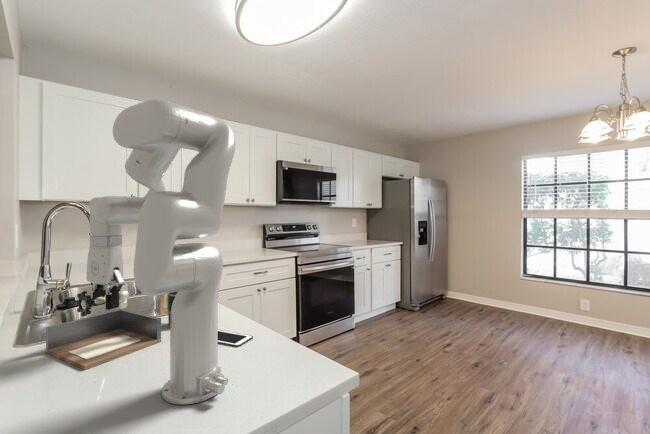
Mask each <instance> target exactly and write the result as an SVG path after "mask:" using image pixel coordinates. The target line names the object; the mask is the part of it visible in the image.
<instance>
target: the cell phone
mask: <svg viewBox="0 0 650 434" xmlns="http://www.w3.org/2000/svg"><path fill="white" fill-rule="evenodd" d="M251 339H252V340H253V339H254V336H253V335H250V334H245V333H244V334H243V333H239V332H234V331H227V330H222V329H218V345H219V344H220V345H224V346H229V347H232V348H240V347H243V344H244V345H245V344H246V343H248V341H249V342H250V341H251Z"/></svg>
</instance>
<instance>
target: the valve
mask: <svg viewBox="0 0 650 434" xmlns="http://www.w3.org/2000/svg"><path fill="white" fill-rule="evenodd" d="M128 285H129V284H128V283H126V282H124V284H123V286H122V287H121V289H120V293H119V307H118V308H114V310H118V309H127V307H128V300H129V298H130V292H129V291H128V287H129V286H128ZM113 286H115V285H113ZM86 294H88V290H87V291H86V290H84V291H81V292H80V293H77V295H76V298H77V299H76V300H75V305H77V306H78V308H76V311H77V313H80V317H83V318H84V317H88V315H91V313H92V310H91V309H92V308H93V307H94V306H93V305H94V304H95V303H96V304H102V303H103V302H105V304H106V295H108V294H107V293H106V295H105V296H104V297H97V298H96V299H95V300H94V299H93V297H92V294H88V295H86ZM102 305H103V304H102Z"/></svg>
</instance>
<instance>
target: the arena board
mask: <svg viewBox="0 0 650 434" xmlns="http://www.w3.org/2000/svg"><path fill="white" fill-rule="evenodd" d="M161 342H162V338H161V339H158V340H156V339H153V338H150V337H146V336H143V335H139V334H136V333H133V332H129V331H126V330H123V329H118V330H114V331H111V332H108V333H104V334H101V335H98V336H94V337H91V338H87V339H84V340H81V341H77V342H74V343H71V344H67V345H64V346H61V347H57V348H54V349H51V350H46V349H45V354H47V355H49V356H52V357H54V358H56V359H58V360H61V361H63V362H66V363H67V364H70V365H71V366H72V365H73V366H74V367H76V368H78V369H81V370H83V371H87V370H90V369H92V368H95V367H97V366H100V365H103V364H105V363H108V362H111V361H113V360H116V359H118V358H121V357H124V356H127V355H130V354H131V353H135V352H137V351H139V350H144V349H145V348H148V347H151V346H153V345H157V344H160V343H161Z"/></svg>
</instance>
